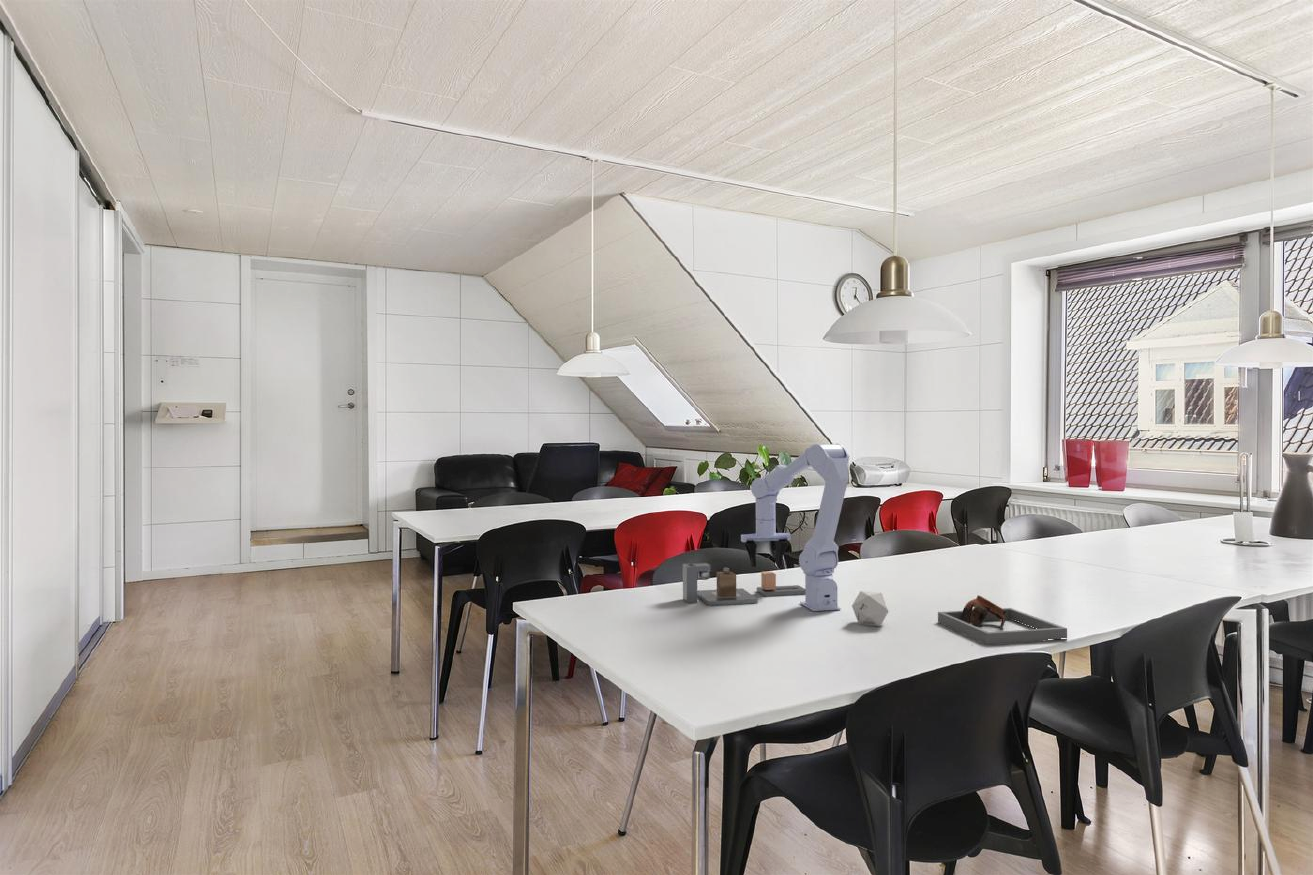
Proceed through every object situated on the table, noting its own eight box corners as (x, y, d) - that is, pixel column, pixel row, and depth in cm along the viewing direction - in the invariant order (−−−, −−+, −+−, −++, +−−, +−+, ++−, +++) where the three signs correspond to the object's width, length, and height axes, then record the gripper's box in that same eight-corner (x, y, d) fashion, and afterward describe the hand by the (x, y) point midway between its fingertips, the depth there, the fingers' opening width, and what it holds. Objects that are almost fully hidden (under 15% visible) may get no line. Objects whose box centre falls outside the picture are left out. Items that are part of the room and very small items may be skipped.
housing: (736, 595, 213) (736, 569, 213) (720, 596, 212) (720, 569, 212) (731, 592, 218) (731, 566, 218) (716, 593, 217) (716, 566, 217)
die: (847, 622, 191) (843, 597, 186) (870, 602, 194) (867, 577, 189) (872, 640, 185) (869, 614, 180) (896, 619, 188) (894, 593, 183)
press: (757, 603, 210) (757, 567, 210) (690, 606, 206) (690, 569, 206) (742, 592, 223) (742, 558, 223) (679, 595, 220) (679, 561, 220)
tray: (1067, 639, 172) (1067, 628, 172) (987, 644, 168) (987, 633, 168) (1010, 617, 192) (1010, 607, 192) (937, 622, 188) (937, 612, 188)
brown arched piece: (959, 621, 191) (976, 593, 191) (995, 643, 186) (1012, 614, 186) (952, 619, 181) (970, 589, 181) (990, 642, 176) (1008, 612, 176)
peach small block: (775, 589, 220) (775, 574, 220) (765, 589, 220) (765, 574, 219) (771, 586, 224) (771, 571, 224) (761, 587, 223) (761, 571, 223)
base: (807, 594, 220) (807, 589, 220) (764, 596, 218) (764, 591, 218) (798, 589, 227) (798, 584, 227) (756, 591, 225) (756, 586, 225)
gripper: (784, 516, 227) (784, 562, 227) (737, 518, 224) (738, 564, 224) (793, 519, 220) (793, 566, 220) (744, 521, 217) (745, 568, 217)
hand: (766, 565), depth 221 cm, fingers open, 7 cm apart
